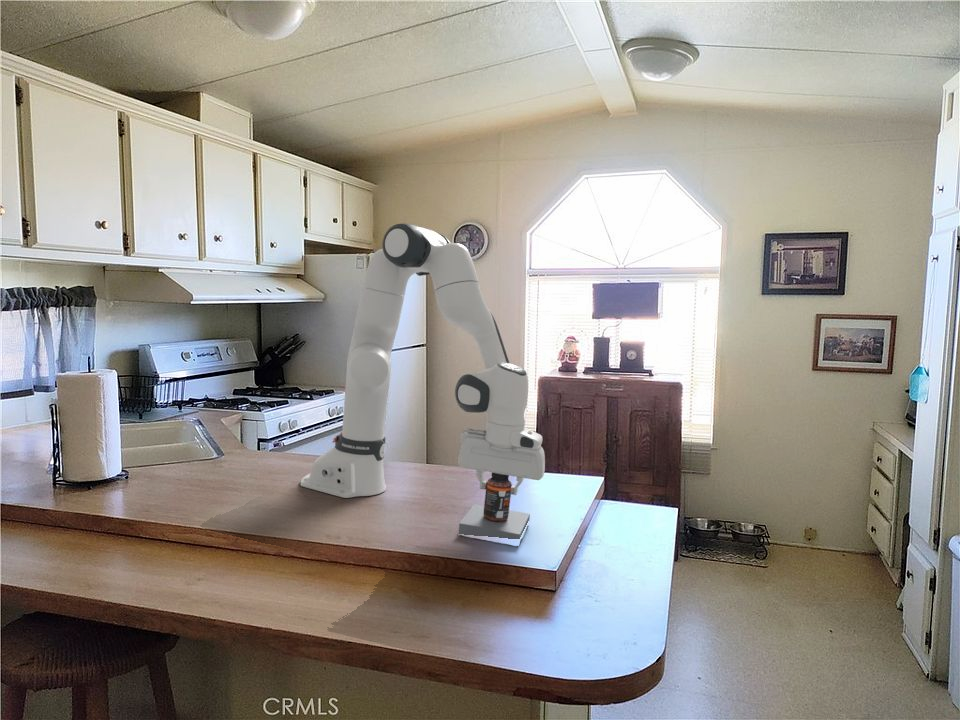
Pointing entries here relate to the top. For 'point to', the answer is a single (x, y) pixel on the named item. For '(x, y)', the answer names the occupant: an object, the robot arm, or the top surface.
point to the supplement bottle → (497, 498)
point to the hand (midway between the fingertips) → (498, 491)
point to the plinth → (493, 524)
